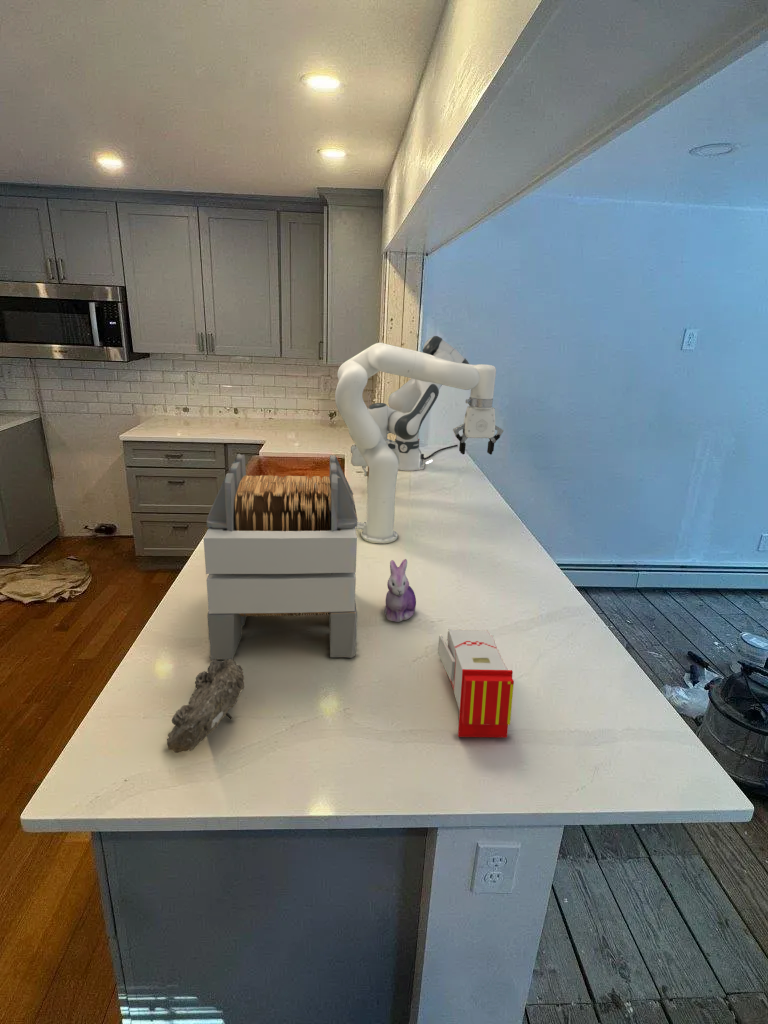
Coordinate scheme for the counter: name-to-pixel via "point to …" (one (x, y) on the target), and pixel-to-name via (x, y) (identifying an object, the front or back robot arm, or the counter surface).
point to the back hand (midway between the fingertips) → (375, 475)
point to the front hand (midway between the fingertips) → (476, 453)
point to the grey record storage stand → (281, 554)
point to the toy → (478, 682)
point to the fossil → (206, 705)
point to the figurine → (399, 594)
